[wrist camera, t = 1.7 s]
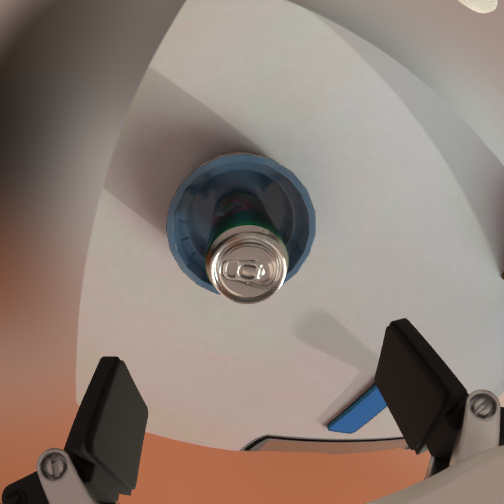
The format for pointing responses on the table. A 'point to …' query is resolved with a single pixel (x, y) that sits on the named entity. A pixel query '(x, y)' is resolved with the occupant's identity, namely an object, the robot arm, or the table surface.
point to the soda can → (245, 250)
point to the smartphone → (359, 412)
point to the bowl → (229, 181)
